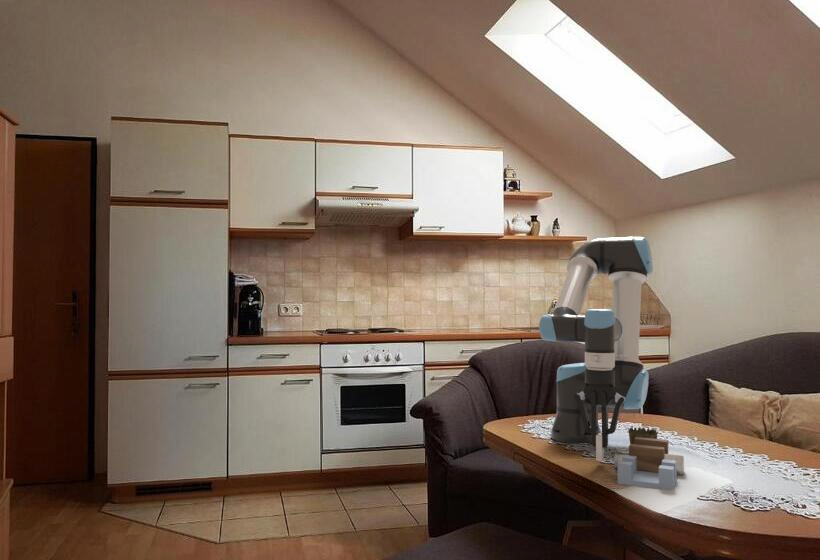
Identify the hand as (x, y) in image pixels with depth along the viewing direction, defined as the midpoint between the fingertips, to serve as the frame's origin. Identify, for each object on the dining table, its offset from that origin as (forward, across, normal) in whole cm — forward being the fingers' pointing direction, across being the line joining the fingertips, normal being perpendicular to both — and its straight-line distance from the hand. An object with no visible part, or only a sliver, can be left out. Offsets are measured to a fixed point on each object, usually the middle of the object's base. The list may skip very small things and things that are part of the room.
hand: (600, 459), depth 171 cm
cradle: (+2, +13, -11) cm, 17 cm away
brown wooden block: (+2, +12, 0) cm, 12 cm away
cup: (+2, +9, +11) cm, 15 cm away
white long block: (-1, +12, 0) cm, 12 cm away
